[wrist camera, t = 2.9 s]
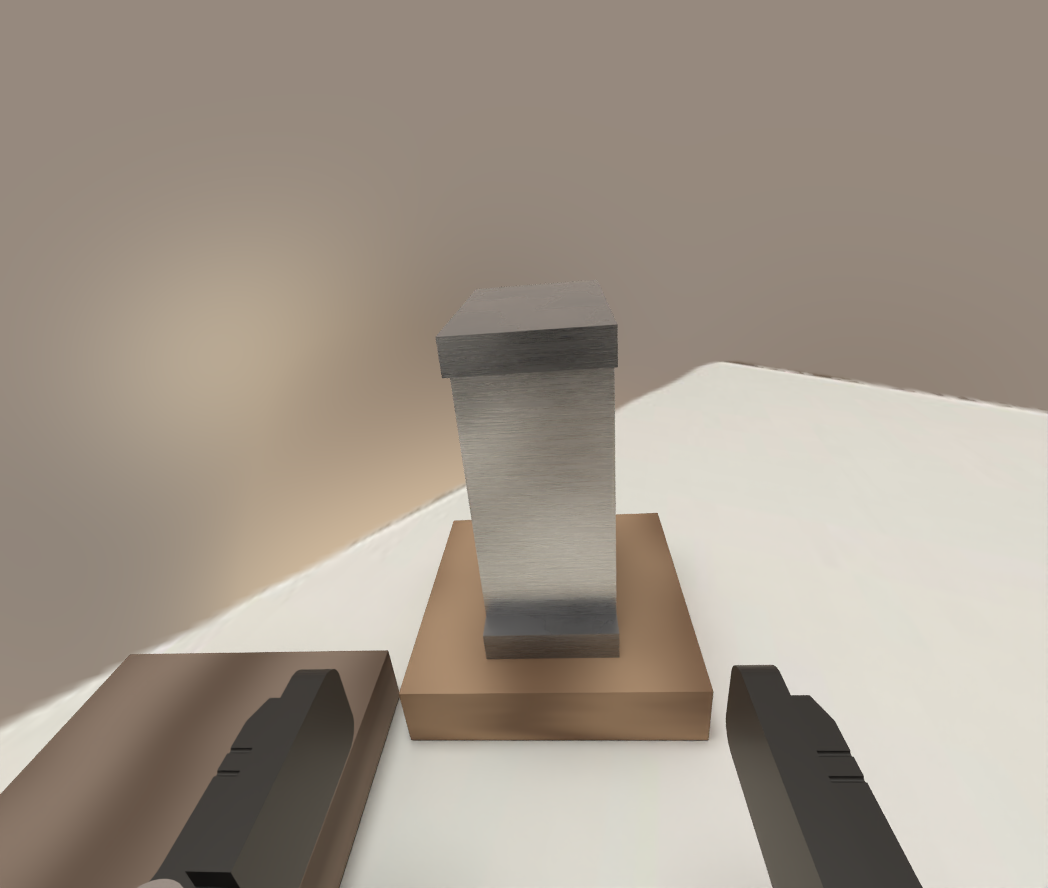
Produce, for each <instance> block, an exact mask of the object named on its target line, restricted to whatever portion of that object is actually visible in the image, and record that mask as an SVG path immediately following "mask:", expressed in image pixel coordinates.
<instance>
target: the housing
mask: <svg viewBox="0 0 1048 888" xmlns="http://www.w3.org/2000/svg"><path fill="white" fill-rule="evenodd" d="M436 343H437V349H438V356H439V362H440V368H441V374H442V378H450V380H451V387H452V392H453V400H454V407H455V413H456V420H457V426H458V433H459V439H460V446H461V453H462V459H463V466H464V473H465V479H466V486H467V493H468V499H469V506H470V513H471V519H472V526H473V532H474V539H475V546H476V552H477V559H478V565H479V572H480V579H481V585H482V592H483V599H484V605H485V612H486V620H485V626H484V632H483V640H484V647H485V653H486V659H548V658H620V652H619V627H618V620H617V606H616V500H615V400H614V399H615V395H614V394H615V393H614V367H618V344H617V323H616V321H615V318H614V316H613V314H612V311H611V309H610V308H609V305H608V303H607V301H606V298H605V296H604V294H603V292H602V290H601V287H600V285H599V283H598V281H597V280H590V281H576V282H564V283H551V284H539V285H525V286H512V287H499V288H488V289H487V288H486V289H476V290H475V291H474V293H473V294H472V295H471V296H470V297H469V298H468V299H467V301H466V302H465V303H464V304H463V305H462V307H461V308H460V309H459V310H458V311H457V312H456V314H455V315H454V316H453V317H452V319H450V321H449V322H448V323H447V324H446V325H445V327H444V328H443V329H442V330H441V332H439V334H438V335H437V336H436Z"/></svg>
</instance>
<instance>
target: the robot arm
mask: <svg viewBox="0 0 1048 888" xmlns="http://www.w3.org/2000/svg"><path fill="white" fill-rule="evenodd" d="M726 730H727V737H728V743H729V747H730V751H731V755H732V758H733V761H734V764H735V768H736V771H737V774H738V777H739V780H740V784H741V787H742V790H743V793H744V797H745V800H746V803H747V806H748V809H749V813H750V816H751V819H752V822H753V826H754V829H755V832H756V835H757V838H758V842H759V845H760V848H761V851H762V854H763V858H764V861H765V864H766V867H767V871H768V874H769V877H770V880H771V883H772V887H773V888H923V887H922V886H921V884H920V882H919V880H918V878H917V877H916V875H915V873H914V871H913V869H912V867H911V865H910V863H909V861H908V859H907V858H906V856H905V854H904V852H903V850H902V848H901V846H900V844H899V842H898V840H897V838H896V837H895V835H894V833H893V831H892V829H891V827H890V825H889V823H888V821H887V819H886V818H885V816H884V814H883V812H882V810H881V808H880V806H879V804H878V802H877V800H876V799H875V797H874V795H873V793H872V791H871V789H870V787H869V785H868V783H865V781H864V776H863V774H862V772H861V770H860V768H859V766H858V764H857V762H856V761H855V759H854V757H852V756H851V753H850V749H849V747H848V745H847V743H846V742H845V740H844V738H843V736H842V734H841V732H840V730H839V728H838V726H837V724H836V723H835V721H834V720H833V719H832V718H831V717H830V716H829V715H828V714H827V713H826V712H825V711H824V710H823V709H822V707H821V706H820V705H819V704H818V703H817V702H816V701H815V700H814V699H813V698H812V697H811V696H810V695H790V693H789V691H788V688H787V686H786V684H785V682H784V680H783V678H782V676H781V674H780V672H779V670H778V669H777V667H776V666H774V665H735V666H733V668H732V671H731V679H730V687H729V695H728V703H727V712H726ZM353 736H354V718H353V714H352V711H351V708H350V705H349V702H348V699H347V696H346V693H345V690H344V687H343V684H342V681H341V678H340V675H339V673H338V671H337V670H336V669H300V670H298V671H296V672H295V673H294V674H293V676H292V677H291V679H290V681H289V682H288V684H287V686H286V688H285V690H284V692H283V693H282V695H281V697H280V698H269V699H268V700H267V701H266V702H265V703H264V704H263V705H262V706H261V707H260V708H259V709H258V710H257V711H256V712H255V713H254V714H253V715H252V716H251V717H250V718H249V719H248V720H247V721H246V722H245V724H244V726H243V727H242V729H241V731H240V732H239V734H238V736H237V737H236V739H235V741H234V743H233V744H232V746H231V750H230V753H227V754H226V756H225V758H224V760H223V761H222V763H221V765H220V766H219V768H218V770H217V775H216V776H214V777H213V778H212V780H211V782H210V783H209V785H208V787H207V788H206V790H205V792H204V793H203V795H202V797H201V799H200V800H199V802H198V804H197V805H196V807H195V809H194V810H193V812H192V814H191V816H190V817H189V819H188V821H187V822H186V824H185V826H184V827H183V829H182V831H181V832H180V834H179V836H178V838H177V839H176V841H175V843H174V844H173V846H172V848H171V849H170V851H169V853H168V855H167V856H166V858H165V860H164V861H163V863H162V865H161V866H160V868H159V869H158V871H157V872H156V874H155V875H154V876H153V877H152V879H151V880H150V881H149V882H147V883H145V884H142V885H141V886H139V887H137V888H299V887H300V884H301V882H302V879H303V876H304V873H305V871H306V868H307V865H308V863H309V860H310V857H311V855H312V852H313V849H314V847H315V844H316V841H317V838H318V836H319V833H320V830H321V828H322V825H323V822H324V820H325V817H326V814H327V812H328V809H329V806H330V803H331V801H332V798H333V795H334V793H335V790H336V787H337V785H338V782H339V779H340V777H341V774H342V771H343V768H344V766H345V763H346V760H347V758H348V755H349V752H350V749H351V746H352V742H353Z"/></svg>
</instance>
